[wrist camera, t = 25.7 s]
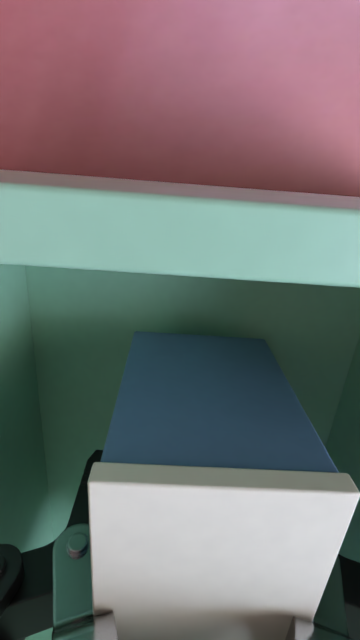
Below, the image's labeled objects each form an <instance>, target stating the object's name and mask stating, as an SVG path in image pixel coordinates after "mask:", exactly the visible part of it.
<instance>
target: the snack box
mask: <svg viewBox="0 0 360 640" xmlns="http://www.w3.org/2000/svg"><path fill="white" fill-rule="evenodd" d="M87 485H88V509H89V533H90V557H91V582H92V606H93V615H94V616H97V615H102V614H105V613H108V612H112V611H113V613H114V617H115V623H116V630H117V637H118V640H285V638H286V636H287V633H288V630H289V627H290V624H291V621H292V618H293V616H295V617H298V618H300V619H303V620H305V621H310V622H312V621H313V618H314V615H315V613H316V610H317V608H318V605H319V602H320V600H321V597H322V595H323V592H324V589H325V587H326V584H327V581H328V579H329V576H330V574H331V571H332V568H333V566H334V563H335V560H336V558H337V555H338V553H339V550H340V547H341V545H342V542H343V539H344V537H345V534H346V532H347V529H348V526H349V524H350V521H351V518H352V516H353V513H354V511H355V508H356V505H357V503H358V500H359V497H360V492H359V490H358V489H357V487H356V485H355V483H354V482H353V480H352V478H351V477H350V475H349V474H347V473H339V472H338V470H337V468H336V466H335V465H334V463H333V461H332V459H331V457H330V456H329V454H328V452H327V450H326V448H325V447H324V445H323V443H322V441H321V439H320V438H319V436H318V434H317V432H316V431H315V429H314V427H313V425H312V423H311V422H310V420H309V418H308V416H307V414H306V413H305V411H304V409H303V407H302V405H301V404H300V402H299V400H298V398H297V396H296V395H295V393H294V391H293V389H292V387H291V386H290V384H289V382H288V380H287V378H286V377H285V375H284V373H283V371H282V369H281V368H280V366H279V364H278V362H277V360H276V359H275V357H274V355H273V353H272V351H271V350H270V348H269V346H268V344H267V343H266V341H265V340H264V339H256V338H240V337H223V336H207V335H190V334H174V333H157V332H141V331H135V332H134V335H133V338H132V342H131V346H130V350H129V354H128V358H127V361H126V365H125V369H124V373H123V377H122V381H121V384H120V388H119V392H118V396H117V400H116V403H115V407H114V411H113V415H112V419H111V423H110V426H109V430H108V434H107V438H106V442H105V446H104V449H103V453H102V457H101V461H100V462H94V463H93V465H92V468H91V472H90V475H89V479H88V482H87Z"/></svg>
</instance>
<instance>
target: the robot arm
mask: <svg viewBox="0 0 360 640" xmlns="http://www.w3.org/2000/svg"><path fill="white" fill-rule="evenodd" d="M102 453H103V450H95V451H94V453H93V454H92V455H91V456H90V457H89V458H88V460H87V463H86V466H85V469H84V473H83V476H82V479H81V483H80V485H79V489H78V492H77V495H76V498H75V502H74V505H73V508H72V511H71V515H70V518H69V521H68V524H67V526H66V528H65V530H64V531H63V532H62V533H61V534H60V535H59V536H58V537H57V539H55V540H54V541H53V542H51V543H49V544H47V545H45V546H43V547H40V548H36V549H33V550H30V551H26V552H23V553H21V552H20V550H19V549H18V548H17V547H15V546H13V545H11V544H0V640H25V638H26V637H28V636H31V635H33V634H36V633H39V632H42V631H44V630H47V629H50V628H52V627H53V632H52V640H118V637H117V630H116V623H115V617H114V613H113V611H112V612H108V613H105V614H102V615H97V616H94V615H93V606H92V582H91V557H90V533H89V509H88V485H87V482H88V479H89V475H90V472H91V468H92V465H93V463H94V462H100V461H101V457H102ZM285 640H360V563H359V562H356V561H354V560H351V559H348V558H346V557H343V556H342V555H340V554H338V555H337V558H336V560H335V563H334V566H333V568H332V571H331V574H330V576H329V579H328V581H327V584H326V587H325V589H324V592H323V595H322V597H321V600H320V602H319V605H318V608H317V610H316V613H315V615H314V618H313V621H312V622H310V621H305V620H303V619H300V618H298V617H295V616H293V618H292V621H291V624H290V627H289V630H288V633H287V636H286V638H285Z"/></svg>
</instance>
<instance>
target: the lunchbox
mask: <svg viewBox="0 0 360 640" xmlns="http://www.w3.org/2000/svg"><path fill="white" fill-rule="evenodd" d="M135 331H141V332H157V333H174V334H190V335H207V336H223V337H240V338H256V339H264V340H265V341H266V343H267V344H268V346H269V348H270V350H271V351H272V353H273V355H274V357H275V359H276V360H277V362H278V364H279V366H280V368H281V369H282V371H283V373H284V375H285V377H286V378H287V380H288V382H289V384H290V386H291V387H292V389H293V391H294V393H295V395H296V396H297V398H298V400H299V402H300V404H301V405H302V407H303V409H304V411H305V413H306V414H307V416H308V418H309V420H310V422H311V423H312V425H313V427H314V429H315V431H316V432H317V434H318V436H319V438H320V439H321V441H322V443H323V445H324V447H325V448H326V450H327V452H328V454H329V456H330V457H331V459H332V461H333V463H334V465H335V466H336V468H337V470H338V472H339V473H347V474H349V475H350V477H351V478H352V480H353V482H354V483H355V485H356V487H357V489H358V490H359V492H360V197H354V196H341V195H328V194H315V193H302V192H289V191H276V190H263V189H250V188H237V187H224V186H211V185H198V184H185V183H172V182H159V181H146V180H134V179H121V178H108V177H95V176H82V175H69V174H56V173H43V172H30V171H17V170H4V169H0V544H11V545H13V546H15V547H17V548H18V549H19V550H20V552H21V553H23V552H26V551H30V550H33V549H36V548H40V547H43V546H45V545H47V544H49V543H51V542H53V541H54V540H55V539H57V537H58V536H59V535H60V534H61V533H62V532H63V531H64V530H65V528H66V526H67V524H68V521H69V518H70V515H71V511H72V508H73V505H74V502H75V498H76V495H77V492H78V489H79V485H80V483H81V479H82V476H83V473H84V469H85V466H86V463H87V460H88V458H89V457H90V456H91V455H92V454H93V453H94V451H95V450H103V449H104V446H105V442H106V438H107V434H108V430H109V426H110V423H111V419H112V415H113V411H114V407H115V403H116V400H117V396H118V392H119V388H120V384H121V381H122V377H123V373H124V369H125V365H126V361H127V358H128V354H129V350H130V346H131V342H132V338H133V335H134V332H135ZM338 554H340V555H342V556H343V557H346V558H348V559H351V560H354V561H356V562H359V563H360V497H359V500H358V503H357V505H356V508H355V511H354V513H353V516H352V518H351V521H350V524H349V526H348V529H347V532H346V534H345V537H344V539H343V542H342V545H341V547H340V550H339V553H338ZM52 632H53V627H52V628H50V629H47V630H44V631H42V632H39V633H36V634H33V635H31V636H28V637H26V638H25V640H52Z"/></svg>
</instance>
